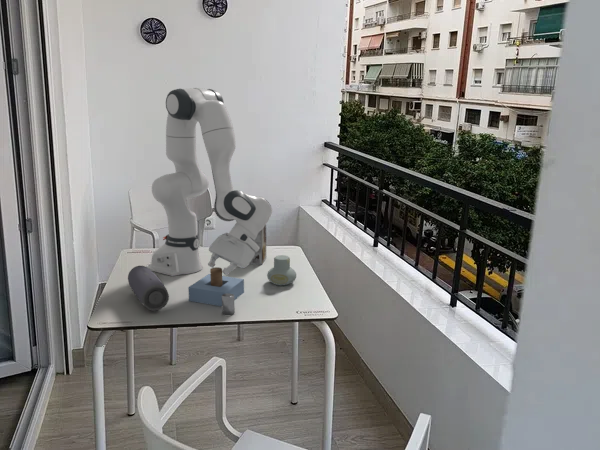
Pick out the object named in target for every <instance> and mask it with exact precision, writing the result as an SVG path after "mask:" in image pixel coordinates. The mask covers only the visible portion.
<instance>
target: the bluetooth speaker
mask: <svg viewBox="0 0 600 450" xmlns="http://www.w3.org/2000/svg"><path fill="white" fill-rule="evenodd" d="M127 282H128V284H129V287H130V289H131V290H132V292H133V294H134V297H136V298H137V300H138V301H139V302H140V303H141V305H143V307H145V308H146V309H147V310H150V311H155V312H156V311H159V310H162V309H163V308H165V307H166V306H167V305H168V303H169V299H170V295H169V292H168V290H167V287H166V286H165V285H164V283H163V282H162V280H161V279H160V278H159V277H158V276H157V275H156V274H155V272H154V271H151V270H150V269H149V268H147V267H146V265H136V266H134V267H132V268H131V270H129V272H128V275H127Z"/></svg>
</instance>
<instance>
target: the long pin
mask: <svg viewBox="0 0 600 450" xmlns="http://www.w3.org/2000/svg"><path fill="white" fill-rule="evenodd" d="M222 271H223V268H222V267H215V266H214V267H213V268H212V267H210V271H209V272H210V273H209V274H210V275H211V286H216V287H221V286H222V276H223V272H222Z"/></svg>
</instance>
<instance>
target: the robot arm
mask: <svg viewBox="0 0 600 450" xmlns="http://www.w3.org/2000/svg"><path fill="white" fill-rule="evenodd" d="M165 108H166V110H167V117H166V125H165V155H166V157H167V159H168V160H169V161H170V162H171V161H172V163H173V166H174V168H175V172H172V173H167V174H163V175H162V176H160V177H157V178H156V179H154V180H153V182H152V185H151V194H152V196H153V198H154V199H155V200H156V201H157V202H158V203H160V204H161V205H162V206H161V207H163V209H164V211H165V214H166V218H167V226H168V234H166V235H165V236H163V237H162V241H164V240H165V243H164V244H162V245H161V246H160V247H158V248H157V249H156V250H154V251H153V253H152V255H151V261H150V262H149V263H148V264H146V265H145V267H147V268H149V269H150V270H151V271H152V272H154V273H155V272H156V273H158V274H159V273H160V274H163V275H167V276H172V277H174V276H179V275H188V274H194V273H196V272H200V271H201V270H202V269H203V264H202V261H201V256H200V251H199V247H200V246H199V245H200V243H199V240H200V237H199V233H198V219H197V214H196V213H195V212H194V211H193V210H191V209H190V207H189V204H188V200H191V199H195V198H198V197H200V196H201V195H203V194H205V193H206V192H207V191H208V188H209V179H208V175H206V174H205V172H203V171H202V169H201V168H200V165H199V162H198V158H197V123H199V126H200V131H201V135H202V141H203V143H204V147H205V151H206V153H207V154H206V155H207V157H208V160H209V163H210V168H211V173H212V179H213V184H214V189H215V199H214V203H213V204H214V206H213V209H214V210H213V211H214V213H215V215H216V216H217V217H218V219H220V220H222V221H224V222H232V221H235V224H234V226H233V227H232V228H231V229H230V230H229V232H225V233H222V234H221V235H219V236H217V238H216V239H215V240H213V242H212V243H211V245H210V246H209V247H208V251H209V252H210V253H211V255H210V261H209V262H208V263H207V265H208V266H209V267H210V268H215V266H216V261H217V260H218V259H222V260H224V261H226V262H228V263H229V265H228V266H227V267H223V269H222V274H224V275H226V276H228V275H229V274H230V273H231V272H232V271H234V270H235V269H236V268H237V267H239V268H241V269H244V268H247V266H249V265H250V264H249V263H250V262H251V260H252V259H253V257H254V255H255V252H258V250H259V249H260V248H259V246H258V245H257V244H256V243H255V241H254V240H255V239H256V237H257V235H258V233H259V232H260V231H261V230H262V229H263V228H264V226H265V225H266V226H267V224H268V222H269V221H270V218H271V217H272V215H273V207H272V205H271V204H270V203H269V201H268V200H267V199H266V198H264V197H263V196H255V195H251V194H247V193H245V192H244V191H241V190H234V189H233V187H234V186H233V183H232V179H231V171H230V166H231V160H232V157H233V155H234V154H235V153H234V152H235V150H236V134H235V130H234V127H233V123H232V119H231V117H230V114H229V111H228V109H227V106H226V105H225V103H224V98H223V96H222V94H221V93H220V92H219V91H217V90H215V89H212V88H211V89H210V88H200V87H198V88H197V87H193V88H176V89H173V90H170V91H169V92H168V93H167V95H166V98H165Z"/></svg>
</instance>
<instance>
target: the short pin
mask: <svg viewBox="0 0 600 450" xmlns="http://www.w3.org/2000/svg"><path fill="white" fill-rule="evenodd" d="M235 304H236V303H235V300H234V294H230V293H227V294H223V295H222V306H221V314H222V316H225V315H231V316H234V315H235V314H234V313H236V312H235V309H236V308H235V307H236V306H235Z"/></svg>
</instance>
